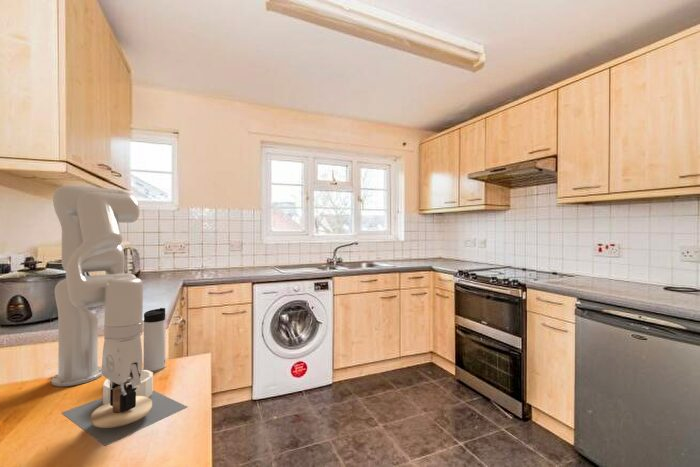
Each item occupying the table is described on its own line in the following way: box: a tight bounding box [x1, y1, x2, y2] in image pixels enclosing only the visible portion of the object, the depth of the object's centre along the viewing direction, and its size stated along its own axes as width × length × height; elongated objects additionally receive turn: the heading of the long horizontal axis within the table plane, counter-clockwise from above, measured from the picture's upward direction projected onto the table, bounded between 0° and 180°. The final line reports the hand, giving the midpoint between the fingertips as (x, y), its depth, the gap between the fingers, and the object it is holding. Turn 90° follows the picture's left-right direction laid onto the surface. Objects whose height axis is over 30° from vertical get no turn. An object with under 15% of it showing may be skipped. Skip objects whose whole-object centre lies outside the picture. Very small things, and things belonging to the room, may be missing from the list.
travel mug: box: [143, 307, 167, 373], centre depth 110 cm, size 6×7×20 cm
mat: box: [61, 389, 188, 447], centre depth 85 cm, size 24×19×1 cm
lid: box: [91, 384, 152, 428], centre depth 79 cm, size 12×12×6 cm
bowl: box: [102, 369, 154, 404], centre depth 90 cm, size 11×11×6 cm
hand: (122, 405), depth 79 cm, fingers closed on lid, 4 cm apart
